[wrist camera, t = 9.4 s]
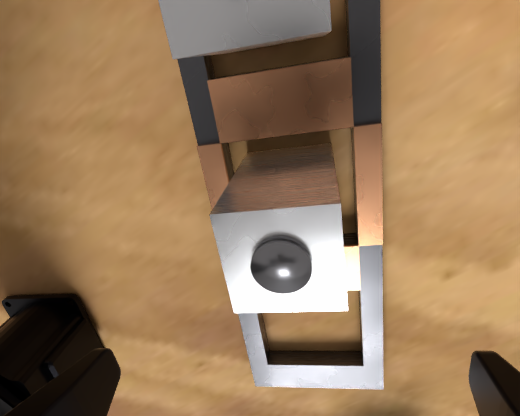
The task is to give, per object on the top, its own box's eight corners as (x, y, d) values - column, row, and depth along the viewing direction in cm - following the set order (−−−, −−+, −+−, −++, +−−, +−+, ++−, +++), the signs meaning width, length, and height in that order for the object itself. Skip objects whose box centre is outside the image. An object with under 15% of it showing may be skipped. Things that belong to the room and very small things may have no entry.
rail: (380, 374, 24) (384, 392, 23) (257, 372, 26) (255, 388, 25) (372, -220, 12) (379, -251, 11) (139, -147, 14) (121, -166, 12)
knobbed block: (260, 224, 20) (232, 318, 13) (247, 152, 19) (206, 218, 12) (336, 219, 19) (348, 316, 13) (330, 142, 18) (341, 207, 11)
